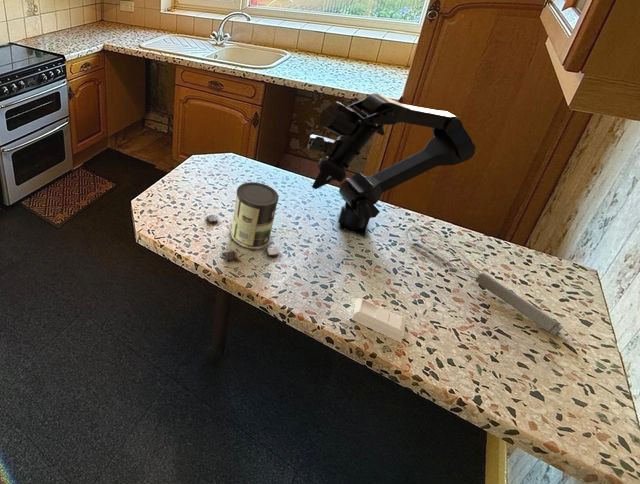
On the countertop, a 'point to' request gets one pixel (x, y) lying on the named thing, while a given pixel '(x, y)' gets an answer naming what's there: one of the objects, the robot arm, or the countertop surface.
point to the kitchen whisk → (502, 292)
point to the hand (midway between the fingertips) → (313, 187)
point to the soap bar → (379, 319)
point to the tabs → (231, 255)
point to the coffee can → (254, 215)
